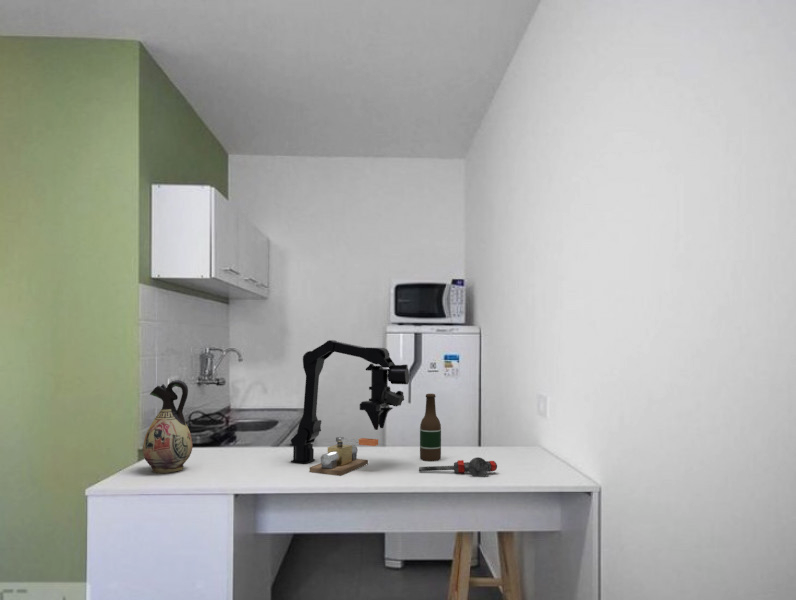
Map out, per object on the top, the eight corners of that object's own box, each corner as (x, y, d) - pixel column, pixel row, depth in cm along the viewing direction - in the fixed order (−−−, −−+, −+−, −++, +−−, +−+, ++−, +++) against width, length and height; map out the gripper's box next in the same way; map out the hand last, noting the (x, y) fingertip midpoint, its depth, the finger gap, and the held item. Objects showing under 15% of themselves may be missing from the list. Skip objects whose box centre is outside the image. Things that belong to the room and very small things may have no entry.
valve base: (309, 471, 185) (309, 445, 186) (338, 461, 202) (338, 436, 203) (340, 475, 180) (341, 448, 181) (367, 464, 197) (368, 439, 198)
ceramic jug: (132, 475, 178) (136, 381, 181) (155, 465, 194) (158, 378, 196) (184, 476, 178) (187, 381, 180) (203, 465, 193) (206, 378, 195)
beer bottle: (415, 459, 207) (415, 393, 208) (430, 456, 212) (430, 392, 214) (430, 462, 201) (430, 395, 203) (445, 459, 206) (445, 394, 208)
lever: (334, 442, 191) (334, 437, 191) (338, 441, 194) (338, 435, 194) (374, 446, 185) (374, 440, 185) (378, 444, 187) (378, 439, 187)
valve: (495, 473, 193) (499, 477, 179) (420, 475, 195) (418, 479, 180) (493, 454, 195) (498, 456, 180) (419, 457, 196) (418, 459, 182)
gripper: (389, 386, 183) (388, 434, 182) (411, 382, 200) (410, 426, 199) (359, 385, 188) (358, 432, 186) (383, 381, 205) (382, 424, 203)
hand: (379, 428), depth 194 cm, fingers open, 4 cm apart
